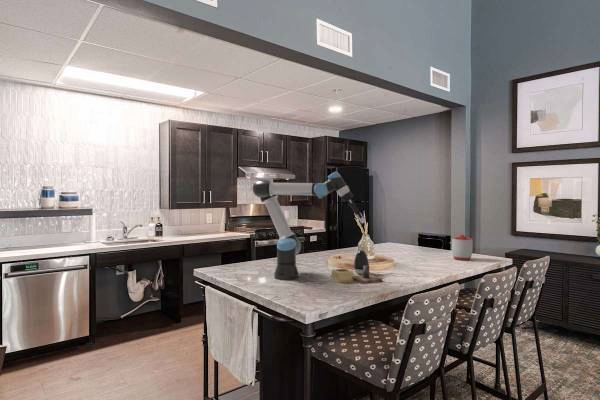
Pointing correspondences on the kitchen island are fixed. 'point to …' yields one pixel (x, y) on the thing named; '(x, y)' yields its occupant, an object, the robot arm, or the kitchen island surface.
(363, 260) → the black tall oval piece
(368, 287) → the kitchen island surface
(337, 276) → the brass collar
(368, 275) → the post stand
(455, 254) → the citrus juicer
